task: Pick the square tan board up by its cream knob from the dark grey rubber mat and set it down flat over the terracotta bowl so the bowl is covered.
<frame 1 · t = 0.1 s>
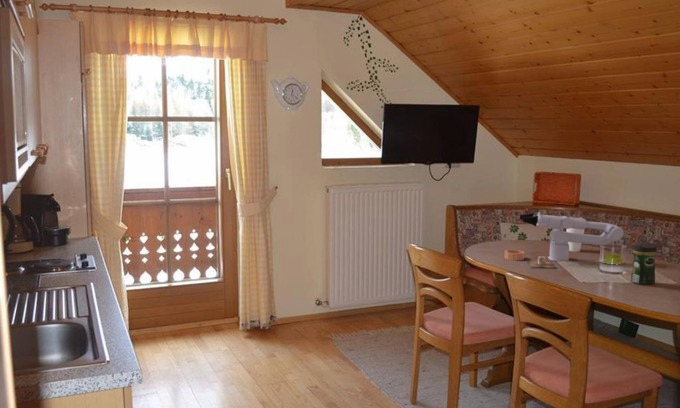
hand: (521, 218, 331), 22 cm above the table, tool horizontal, fingers open, 7 cm apart
bowl: (514, 259, 332), on the table
mat: (541, 266, 316), on the table
foam cup: (574, 250, 355), on the table
coffee jar: (642, 283, 287), on the table
square tan board: (541, 265, 316), resting on mat
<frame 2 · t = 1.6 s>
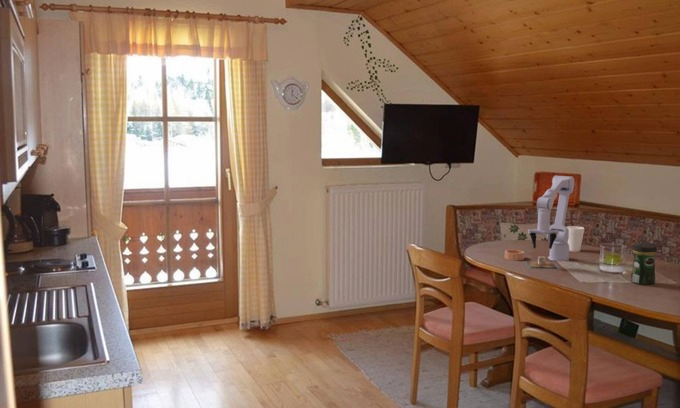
hand: (542, 248, 315), 9 cm above the table, tool pointing down, fingers open, 7 cm apart
nothing on the table moved.
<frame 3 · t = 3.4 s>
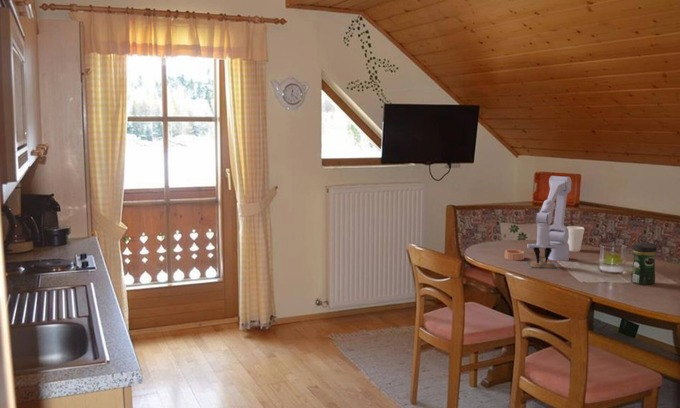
hand: (541, 262, 316), 2 cm above the table, tool pointing down, fingers closed on square tan board, 3 cm apart
square tan board: (541, 265, 316), resting on mat, touching gripper
everything else where it was.
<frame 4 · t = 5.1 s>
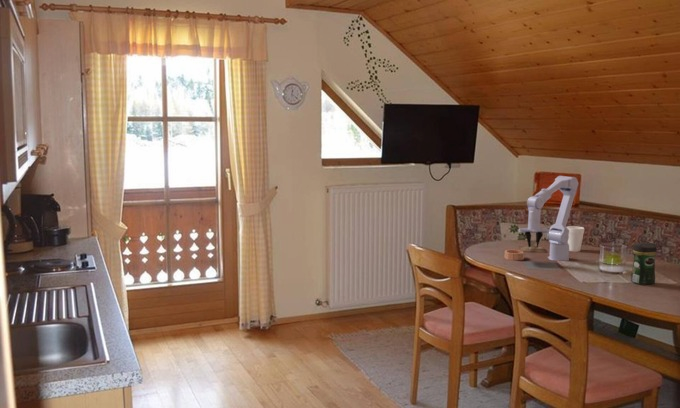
hand: (532, 246, 320), 9 cm above the table, tool pointing down, fingers closed on square tan board, 3 cm apart
square tan board: (532, 250, 320), point 7 cm above the table, touching gripper
everything else where it was.
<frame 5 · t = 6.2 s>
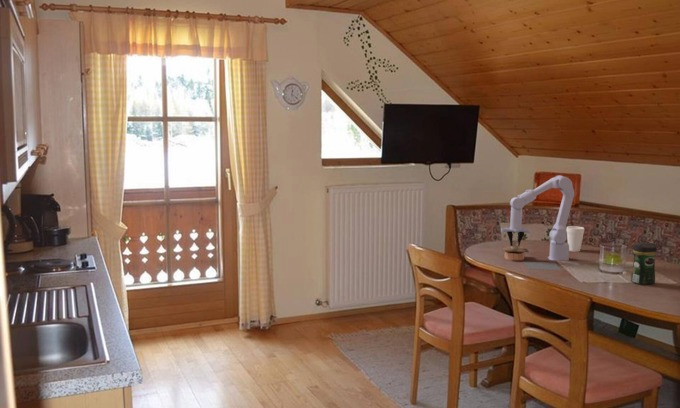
hand: (514, 245, 331), 7 cm above the table, tool pointing down, fingers closed on square tan board, 3 cm apart
square tan board: (514, 250, 331), point 5 cm above the table, touching gripper
everything else where it was.
when the fingers open (6 cm above the table, at t = 7.0 s): square tan board stays where it is, resting on bowl.
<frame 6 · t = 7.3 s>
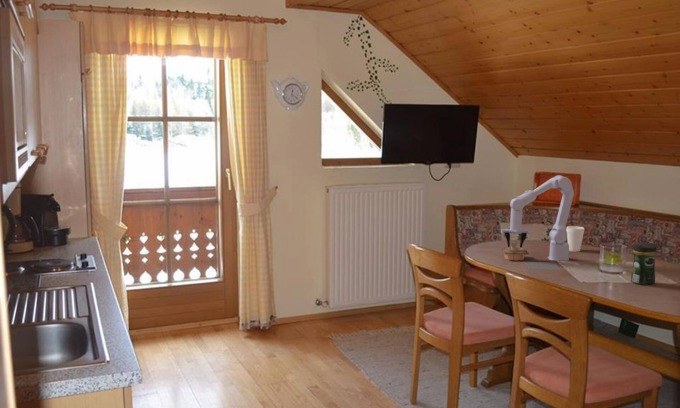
hand: (514, 247, 331), 6 cm above the table, tool pointing down, fingers open, 6 cm apart
square tan board: (514, 251, 331), point 4 cm above the table, touching bowl
everything else where it was.
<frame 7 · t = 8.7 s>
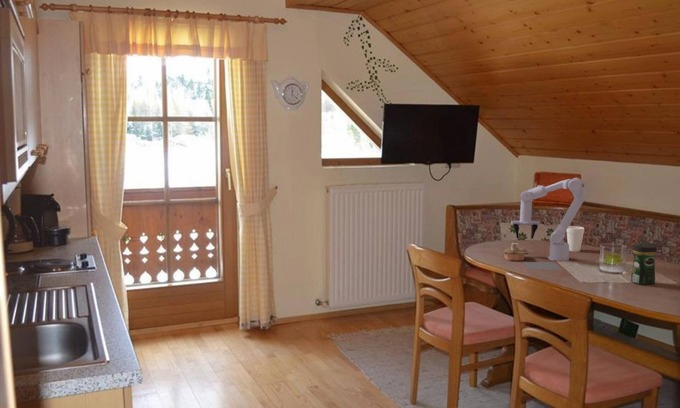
hand: (524, 238, 338), 10 cm above the table, tool pointing down, fingers open, 7 cm apart
nothing on the table moved.
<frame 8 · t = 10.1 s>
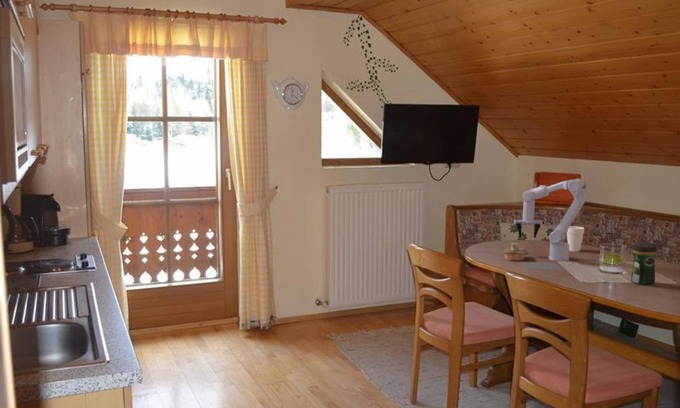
hand: (527, 237, 340), 10 cm above the table, tool pointing down, fingers open, 7 cm apart
nothing on the table moved.
at the end: square tan board 0.3 cm off-centre on the bowl, point 4.0 cm above the bowl's base; square tan board tilted 0°; the gripper is holding nothing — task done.
